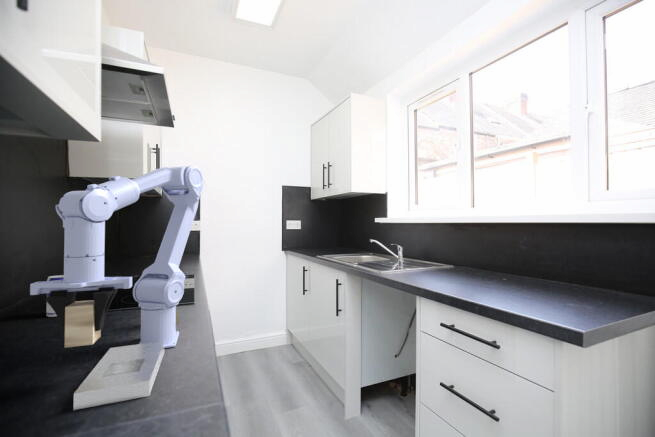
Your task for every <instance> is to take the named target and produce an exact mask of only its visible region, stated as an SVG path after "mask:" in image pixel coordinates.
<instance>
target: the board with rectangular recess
mask: <svg viewBox="0 0 655 437" xmlns="http://www.w3.org/2000/svg"><path fill="white" fill-rule="evenodd" d="M165 349H166V348H165V341H160V342H153V343H145V344H139V343H138V344H131V345H123V346H116V347H115V346H114V347H110V348H109V349H108V350H107V352H105V354H104V355H103V356H102V358H101V359H100V360H99V361H98V363H97V364H96V365H95V367H94V368H93V369H92V370H91V371H90V373H89V374H88V375H87V376H86V378H85V379H84V380H83V381H82V382H81V383H80V385H79V387H77V389H76V390H75V391H74V393H73V411H76V410H81V409H87V408H92V407H98V406H102V405H103V406H104V405H108V404H113V403H114V404H115V403H119V402H125V401H129V400H130V401H131V400H135V399H141V398H145V397H146V398H147V397H150V396H151V393H152V389H153V387H154V383H155V380H156V378H157V375H158V373H159V369H160V366H161V363H162V360H163V358H164V356H165V351H166V350H165Z"/></svg>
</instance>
